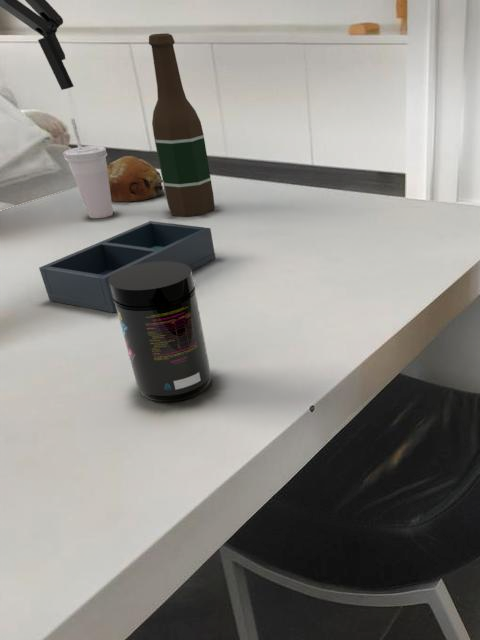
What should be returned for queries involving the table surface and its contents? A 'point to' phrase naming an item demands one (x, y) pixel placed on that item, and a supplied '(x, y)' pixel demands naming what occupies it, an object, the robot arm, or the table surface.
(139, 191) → the bread roll
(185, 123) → the beer bottle
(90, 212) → the smoothie
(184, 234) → the compartment tray
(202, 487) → the table surface
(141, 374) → the supplement container
